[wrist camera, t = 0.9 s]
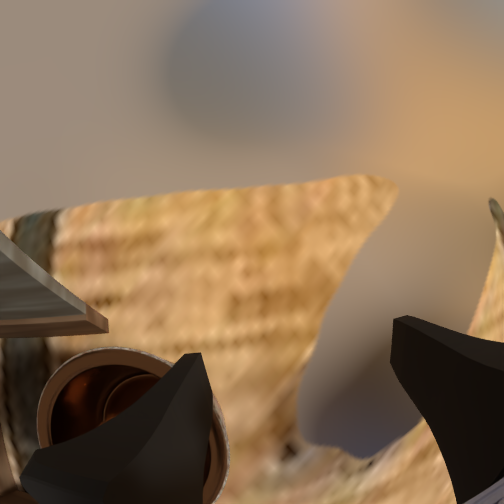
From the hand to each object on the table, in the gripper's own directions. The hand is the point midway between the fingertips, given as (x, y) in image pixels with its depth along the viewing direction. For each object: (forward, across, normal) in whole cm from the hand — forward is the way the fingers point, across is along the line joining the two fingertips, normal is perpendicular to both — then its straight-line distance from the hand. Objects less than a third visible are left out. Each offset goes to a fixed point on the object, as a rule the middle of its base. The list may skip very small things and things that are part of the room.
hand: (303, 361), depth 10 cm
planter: (+7, +11, +10) cm, 17 cm away
